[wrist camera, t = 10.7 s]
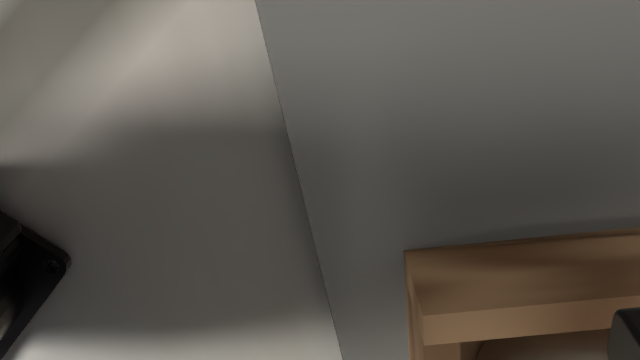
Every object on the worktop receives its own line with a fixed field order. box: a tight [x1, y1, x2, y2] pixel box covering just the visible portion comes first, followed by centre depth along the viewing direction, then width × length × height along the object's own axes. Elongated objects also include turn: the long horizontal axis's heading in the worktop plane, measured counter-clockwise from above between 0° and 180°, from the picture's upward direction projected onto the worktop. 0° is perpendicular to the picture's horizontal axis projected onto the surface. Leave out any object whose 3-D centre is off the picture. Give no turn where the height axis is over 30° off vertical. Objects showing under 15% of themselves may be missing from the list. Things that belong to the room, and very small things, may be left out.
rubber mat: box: [255, 0, 640, 360], centre depth 19 cm, size 24×14×1 cm, turn 12°
